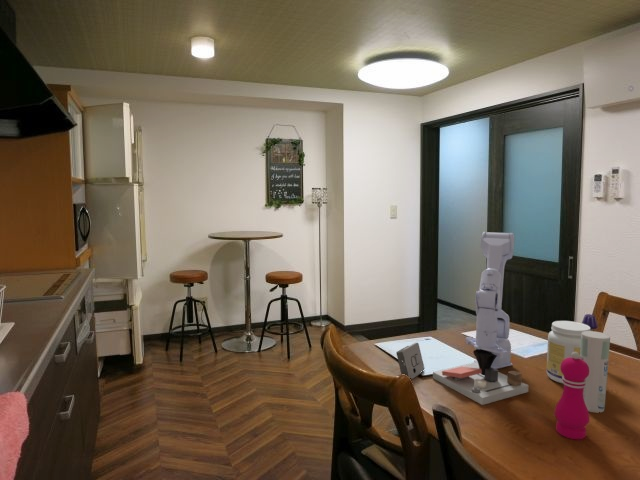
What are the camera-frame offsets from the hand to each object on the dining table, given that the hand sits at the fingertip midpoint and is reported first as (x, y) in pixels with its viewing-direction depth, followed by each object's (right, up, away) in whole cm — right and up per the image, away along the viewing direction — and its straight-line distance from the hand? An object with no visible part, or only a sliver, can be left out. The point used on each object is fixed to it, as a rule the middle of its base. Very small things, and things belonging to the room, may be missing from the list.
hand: (484, 374), depth 138 cm
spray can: (+23, -5, -14) cm, 28 cm away
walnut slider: (+7, -2, -5) cm, 8 cm away
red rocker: (-7, +1, -1) cm, 7 cm away
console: (-2, -3, 0) cm, 4 cm away
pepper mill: (+11, -6, -27) cm, 30 cm away
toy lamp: (+40, -2, +16) cm, 43 cm away
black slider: (+1, -1, -2) cm, 3 cm away
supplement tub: (+27, -3, +4) cm, 28 cm away
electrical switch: (-21, -2, +8) cm, 22 cm away
